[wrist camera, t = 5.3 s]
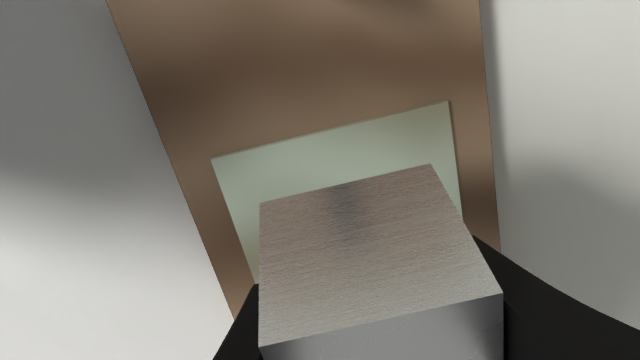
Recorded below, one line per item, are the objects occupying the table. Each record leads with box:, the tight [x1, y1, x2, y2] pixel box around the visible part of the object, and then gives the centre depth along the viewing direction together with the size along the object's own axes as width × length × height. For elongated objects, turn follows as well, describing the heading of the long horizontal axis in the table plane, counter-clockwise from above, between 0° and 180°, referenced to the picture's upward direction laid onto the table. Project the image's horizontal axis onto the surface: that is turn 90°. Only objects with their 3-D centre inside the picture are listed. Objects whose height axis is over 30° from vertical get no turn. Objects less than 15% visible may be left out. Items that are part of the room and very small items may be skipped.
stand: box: [106, 0, 501, 321], centre depth 15 cm, size 28×12×6 cm, turn 13°
